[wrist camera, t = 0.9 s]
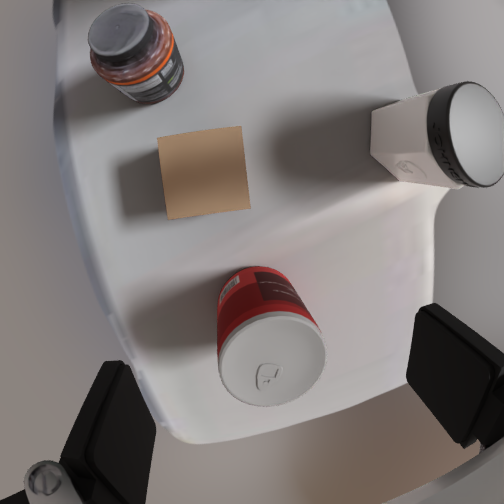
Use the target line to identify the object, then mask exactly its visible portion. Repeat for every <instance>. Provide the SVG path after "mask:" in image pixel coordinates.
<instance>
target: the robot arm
mask: <svg viewBox="0 0 504 504" xmlns="http://www.w3.org/2000/svg"><path fill="white" fill-rule="evenodd" d="M406 379H407V382H408V383H409V385H410V386H411V387H412V388H413V390H414V391H415V392H416V393H417V395H418V396H419V397H420V398H421V400H422V401H423V402H424V403H425V405H426V406H427V407H428V408H429V409H430V411H431V412H432V413H433V415H434V416H435V417H436V419H437V420H438V421H439V422H440V424H441V425H442V426H443V427H444V429H445V430H446V431H447V433H448V434H449V435H450V437H451V438H452V439H453V441H454V442H456V443H460V444H461V446H462V447H463V448H464V449H465V448H466V447H468V446H470V445H471V444H473V443H475V442H476V440H477V439H478V440H479V441H480V452H479V454H478V455H477V456H475V457H474V458H472V459H470V460H469V461H467V462H466V463H464V464H462V465H460V466H459V467H457V468H455V469H454V470H452V471H450V472H448V473H447V474H445V475H443V476H441V477H439V478H437V479H435V480H433V481H431V482H429V483H428V484H425V485H423V486H421V487H419V488H417V489H415V490H413V491H411V492H408V493H406V494H404V495H402V496H399V497H397V498H394V499H392V500H390V501H387V502H385V503H382V504H504V353H502V352H501V351H500V350H499V349H497V348H496V347H495V346H493V345H492V344H491V343H489V342H488V341H487V340H486V339H484V338H483V337H482V336H480V335H479V334H478V333H476V332H475V331H474V330H472V329H471V328H470V327H468V326H467V325H466V324H464V323H463V322H462V321H460V320H459V319H457V318H456V317H455V316H453V315H452V314H451V313H449V312H448V311H447V310H445V309H444V308H442V307H441V306H440V305H438V304H436V303H432V304H429V305H426V306H423V307H421V308H420V309H419V311H418V313H416V315H415V322H414V329H413V337H412V343H411V349H410V355H409V361H408V367H407V372H406ZM155 436H156V425H155V422H154V420H153V418H152V416H151V414H150V411H149V409H148V407H147V405H146V403H145V401H144V398H143V396H142V394H141V392H140V389H139V387H138V385H137V383H136V380H135V378H134V375H133V373H132V371H131V368H130V366H129V365H125V364H124V362H123V361H121V360H119V361H105V362H104V363H103V365H102V366H101V368H100V370H99V372H98V374H97V376H96V379H95V380H94V382H93V384H92V387H91V389H90V391H89V393H88V395H87V397H86V399H85V401H84V403H83V406H82V408H81V410H80V412H79V414H78V416H77V419H76V421H75V423H74V425H73V428H72V430H71V432H70V434H69V437H68V439H67V441H66V444H65V446H64V449H63V451H62V453H61V458H60V461H59V463H57V462H54V461H51V460H47V461H46V460H44V461H41V462H38V463H36V464H34V465H32V467H30V469H29V470H28V471H27V473H26V475H25V478H24V488H25V489H24V490H22V491H20V492H18V493H16V494H13V495H12V496H9V497H7V498H5V499H2V500H0V504H145V502H146V494H147V487H148V480H149V473H150V467H151V460H152V453H153V448H154V442H155Z"/></svg>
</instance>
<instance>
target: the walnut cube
mask: <svg viewBox="0 0 504 504" xmlns="http://www.w3.org/2000/svg"><path fill="white" fill-rule="evenodd" d="M157 140H158V150H159V158H160V166H161V174H162V182H163V189H164V196H165V203H166V210H167V216H168V220H170V219H177V218H184V217H191V216H198V215H205V214H212V213H219V212H227V211H235V210H243V209H251V208H250V199H249V190H248V181H247V172H246V164H245V155H244V146H243V137H242V129H241V126H236V127H227V128H218V129H211V130H203V131H196V132H189V133H183V134H177V135H171V136H165V137H160V138H157Z"/></svg>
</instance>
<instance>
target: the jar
mask: <svg viewBox="0 0 504 504" xmlns="http://www.w3.org/2000/svg"><path fill="white" fill-rule="evenodd" d="M370 154H371V156H372V157H374V158H375V159H376V160H377V161H378V162H379V163H380V164H382V165H383V166H384V167H385V168H386V169H387V170H388V171H389V172H390V173H391V174H393V175H394V176H395V177H396V178H397V179H398V180H399V181H402V182H410V183H418V184H426V185H433V186H440V187H447V188H453V189H460V188H461V187H463V186H464V185H466V186H470V187H477V188H479V187H483V188H484V187H490V186H493V185H494V184H496V183H497V182H498V181H499V180H500V179H501V178H502V176H503V175H504V114H503V112H502V109H501V107H500V106H499V104H498V102H497V101H496V99H495V98H494V97H493V96H492V94H491V93H490V92H489V91H488V90H487V89H486V88H484V87H483V86H481V85H479V84H477V83H475V82H468V81H467V82H461V83H458V84H454V85H450V86H446V87H443V88H441V89H437V90H433V91H430V92H426V93H423V94H419V95H416V96H412V97H409V98H406V99H402V100H400V101H397V102H394V103H391V104H389V105H386V106H383V107H381V108H378V109H376V110H373V111H372V117H371V145H370Z"/></svg>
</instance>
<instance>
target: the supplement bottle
mask: <svg viewBox="0 0 504 504" xmlns="http://www.w3.org/2000/svg"><path fill="white" fill-rule="evenodd" d="M88 43H89V46H90V48H91V50H90V60H91V64H92V66H93V68H94V70H95V71H96V72H97V73H98V74H99V75H100V76H101V77H102V78H104V79H105V80H106V81H107V82H108V83H110V84H111V85H113V86H114V87H115V88H117V89H118V90H120V92H122V93H124V94H125V95H126V96H128V97H129V98H131V99H133V100H134V101H137V102H140V103H144V104H151V103H157V102H160V101H163V100H165V99H167V98H168V97H170V96H171V95H172V94H173V93H174V92H175V91H176V90H177V89H178V87H179V86H180V84H181V82H182V79H183V75H184V66H183V62H182V59H181V56H180V53H179V51H178V48H177V45H176V42H175V39H174V37H173V34H172V32H171V29H170V27H169V25H168V23H167V21H166V20H165V19H164V18H163V17H162V16H161V15H159V14H157V13H155V12H153V11H150V10H145V9H144V8H143V7H141V6H139V5H137V4H133V3H124V4H119V5H115V6H113V7H111V8H109V9H107V10H105V11H104V12H103V13H101V14H100V15H99V16H98V17H97V18H96V19H95V21H94V22H93V24H92V25H91V28H90V30H89V33H88Z"/></svg>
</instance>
